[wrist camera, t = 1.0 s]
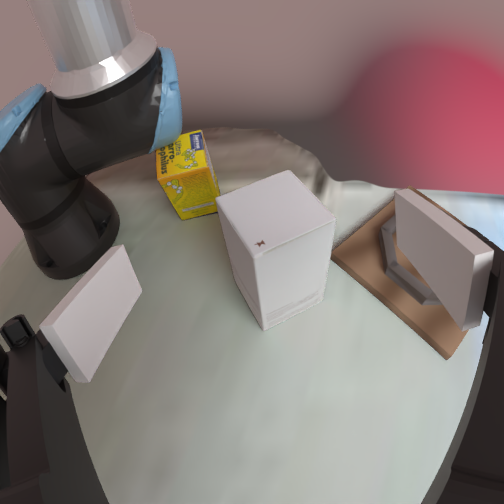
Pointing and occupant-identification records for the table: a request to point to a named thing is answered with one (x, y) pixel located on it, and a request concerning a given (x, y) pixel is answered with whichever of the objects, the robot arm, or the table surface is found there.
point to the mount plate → (398, 279)
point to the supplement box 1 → (188, 176)
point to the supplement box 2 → (277, 245)
